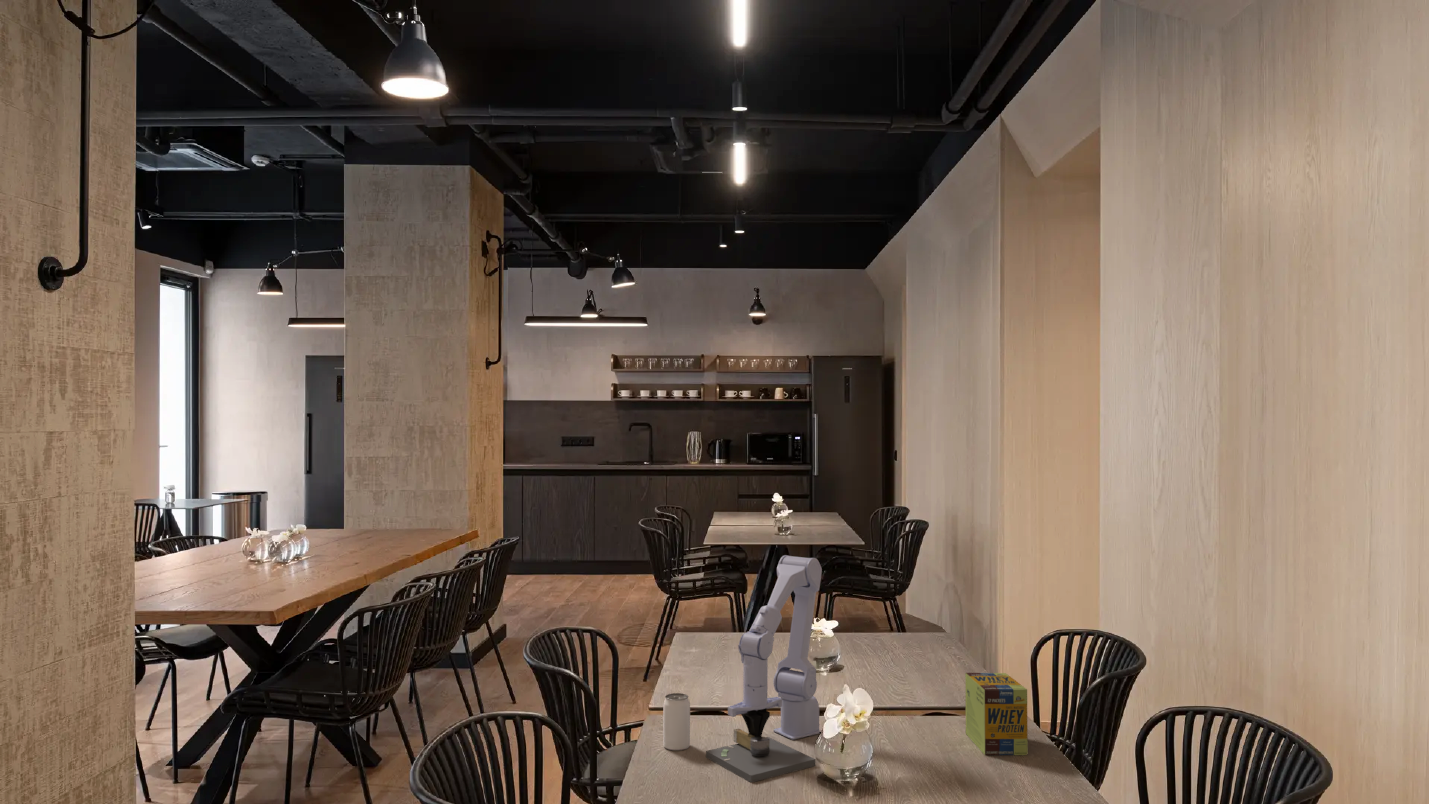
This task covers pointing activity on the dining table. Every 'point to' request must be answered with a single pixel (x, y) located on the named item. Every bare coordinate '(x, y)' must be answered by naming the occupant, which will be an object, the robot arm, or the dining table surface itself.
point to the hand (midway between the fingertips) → (755, 741)
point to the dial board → (760, 761)
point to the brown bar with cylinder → (752, 742)
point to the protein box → (996, 714)
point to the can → (676, 722)
